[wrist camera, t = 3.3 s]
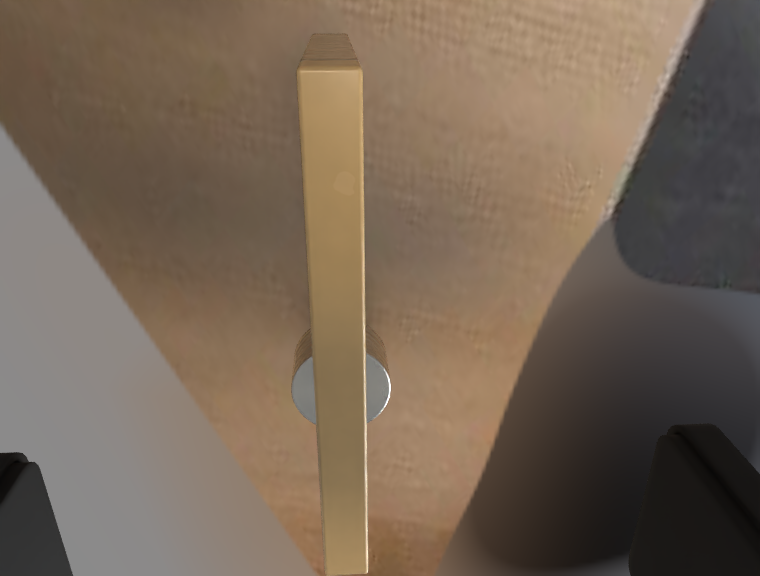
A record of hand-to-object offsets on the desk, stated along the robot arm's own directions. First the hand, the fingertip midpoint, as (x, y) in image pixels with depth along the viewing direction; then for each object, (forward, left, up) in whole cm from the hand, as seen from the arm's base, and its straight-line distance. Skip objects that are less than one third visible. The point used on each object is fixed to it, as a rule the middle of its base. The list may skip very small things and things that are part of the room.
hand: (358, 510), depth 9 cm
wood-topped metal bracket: (0, 0, -11) cm, 11 cm away
